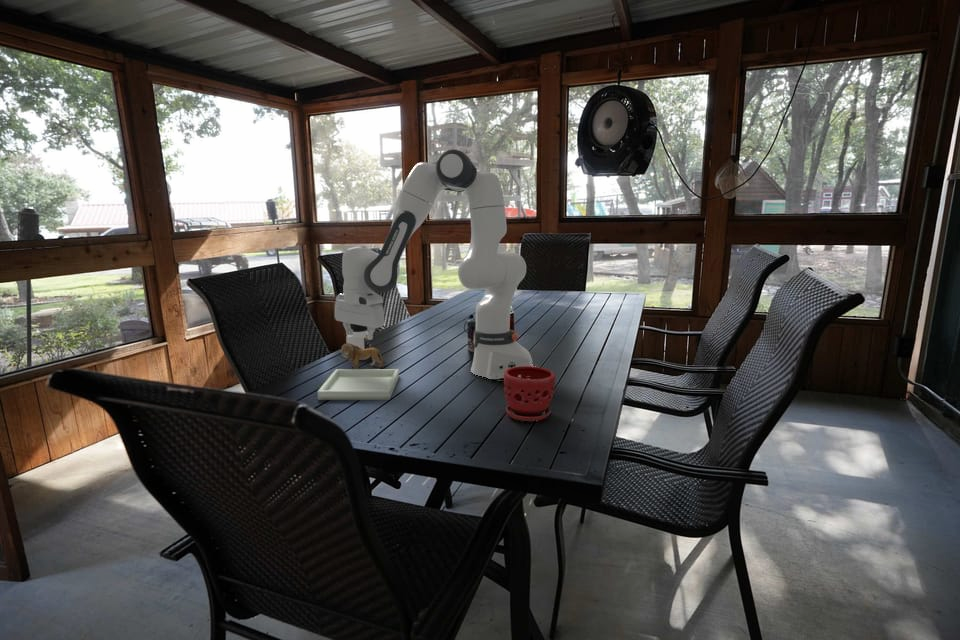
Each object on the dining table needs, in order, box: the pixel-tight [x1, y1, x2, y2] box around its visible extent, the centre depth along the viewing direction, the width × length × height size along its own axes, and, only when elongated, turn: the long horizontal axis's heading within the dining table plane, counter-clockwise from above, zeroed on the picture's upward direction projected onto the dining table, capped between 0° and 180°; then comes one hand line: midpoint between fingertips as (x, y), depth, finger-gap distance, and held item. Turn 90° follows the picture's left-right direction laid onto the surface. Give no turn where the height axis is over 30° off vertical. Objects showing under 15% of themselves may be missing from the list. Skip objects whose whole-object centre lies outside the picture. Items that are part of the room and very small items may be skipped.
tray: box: [317, 368, 400, 401], centre depth 155 cm, size 20×20×2 cm
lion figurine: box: [341, 342, 387, 369], centre depth 173 cm, size 15×5×9 cm, turn 114°
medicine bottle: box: [345, 324, 374, 349], centre depth 189 cm, size 7×7×12 cm
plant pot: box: [503, 366, 556, 421], centre depth 134 cm, size 13×13×12 cm
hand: (359, 337), depth 171 cm, fingers open, 8 cm apart
